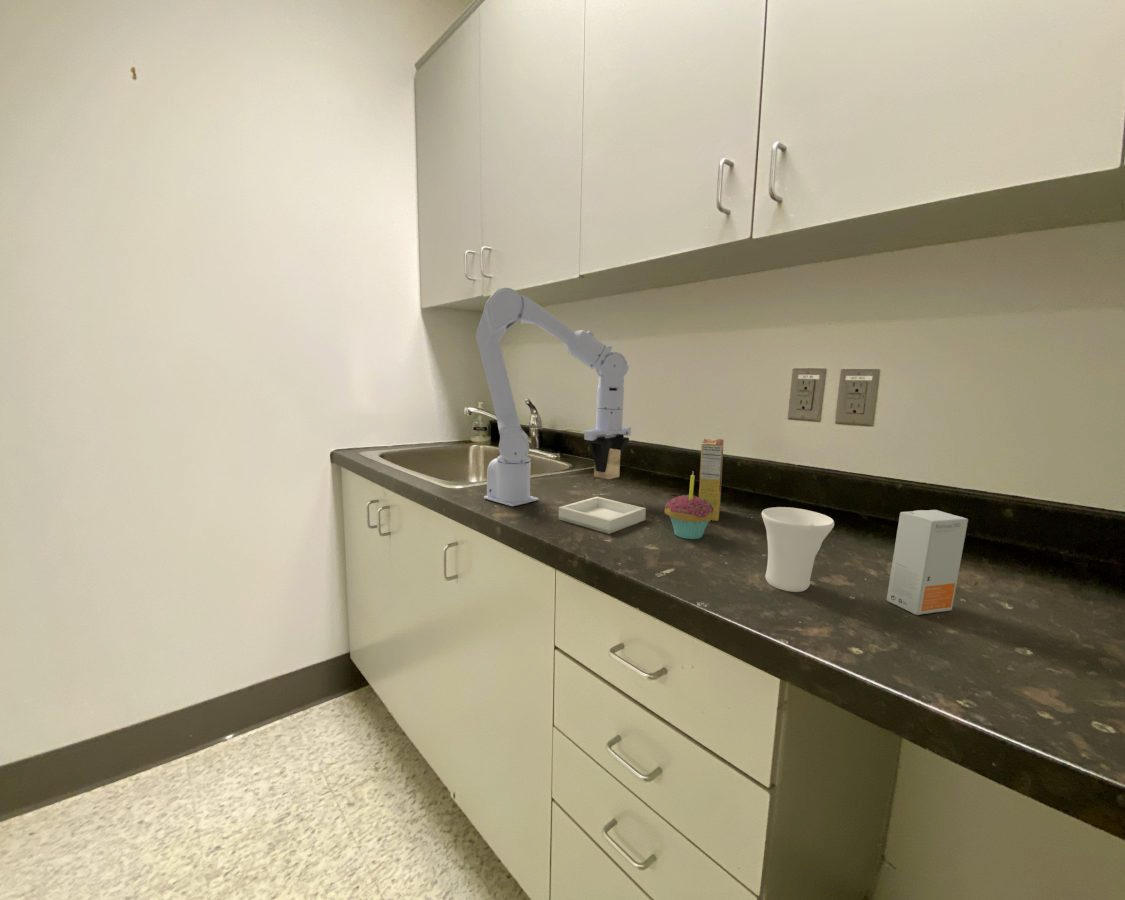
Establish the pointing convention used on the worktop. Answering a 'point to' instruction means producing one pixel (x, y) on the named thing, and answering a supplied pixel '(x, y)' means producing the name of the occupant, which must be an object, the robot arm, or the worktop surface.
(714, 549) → the worktop surface
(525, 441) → the robot arm
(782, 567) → the cup
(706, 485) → the candy box
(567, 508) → the tray
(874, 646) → the worktop surface
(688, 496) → the cupcake
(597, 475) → the wooden block
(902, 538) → the skincare box
